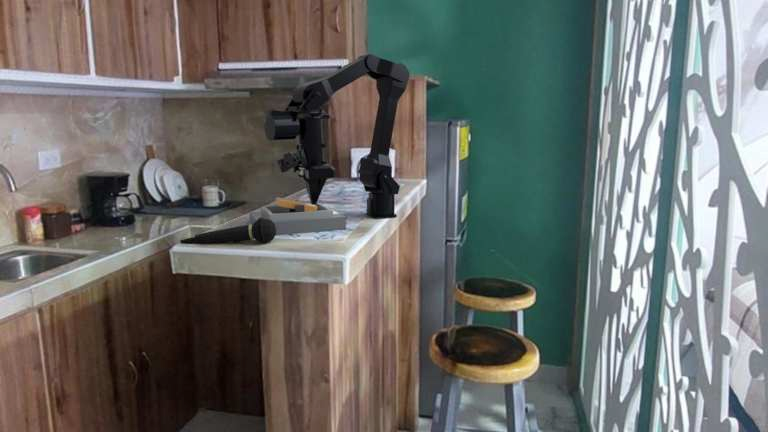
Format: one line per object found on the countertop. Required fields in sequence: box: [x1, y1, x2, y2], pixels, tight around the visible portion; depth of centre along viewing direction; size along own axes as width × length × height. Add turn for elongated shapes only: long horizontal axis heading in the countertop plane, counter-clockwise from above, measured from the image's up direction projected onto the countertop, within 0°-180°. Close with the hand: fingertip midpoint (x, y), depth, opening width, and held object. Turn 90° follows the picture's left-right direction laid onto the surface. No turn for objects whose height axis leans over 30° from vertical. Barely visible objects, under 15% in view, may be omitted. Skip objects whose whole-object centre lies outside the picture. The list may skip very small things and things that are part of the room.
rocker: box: [274, 197, 318, 211], centre depth 124 cm, size 9×5×2 cm, turn 113°
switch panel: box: [248, 199, 347, 236], centre depth 124 cm, size 20×14×6 cm
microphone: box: [179, 217, 277, 245], centre depth 109 cm, size 6×6×20 cm
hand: (313, 204), depth 125 cm, fingers closed
